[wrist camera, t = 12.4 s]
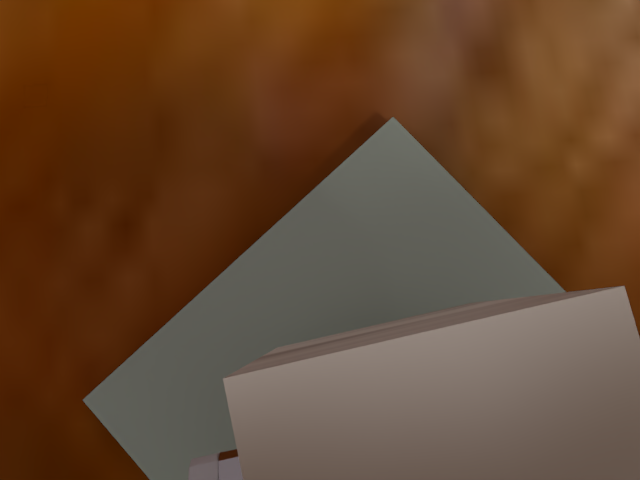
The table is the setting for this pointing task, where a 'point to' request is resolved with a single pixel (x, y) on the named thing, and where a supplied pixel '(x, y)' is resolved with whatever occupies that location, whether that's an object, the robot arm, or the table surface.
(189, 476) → the robot arm
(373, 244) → the mat
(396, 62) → the table surface
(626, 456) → the block
